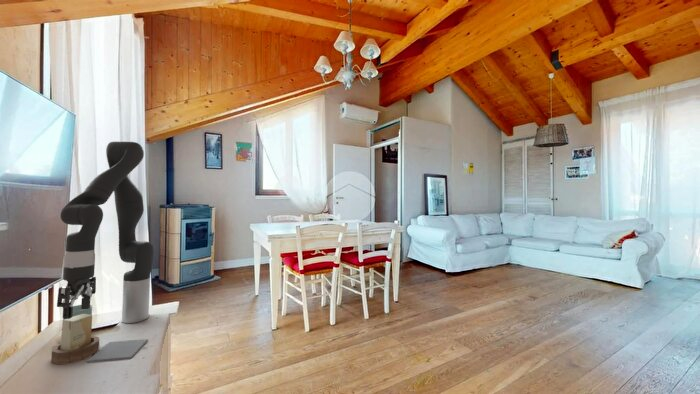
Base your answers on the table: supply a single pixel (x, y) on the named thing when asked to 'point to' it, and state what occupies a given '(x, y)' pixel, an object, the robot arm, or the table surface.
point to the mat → (118, 350)
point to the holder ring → (74, 352)
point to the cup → (81, 310)
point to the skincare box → (76, 332)
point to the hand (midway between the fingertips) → (76, 313)
